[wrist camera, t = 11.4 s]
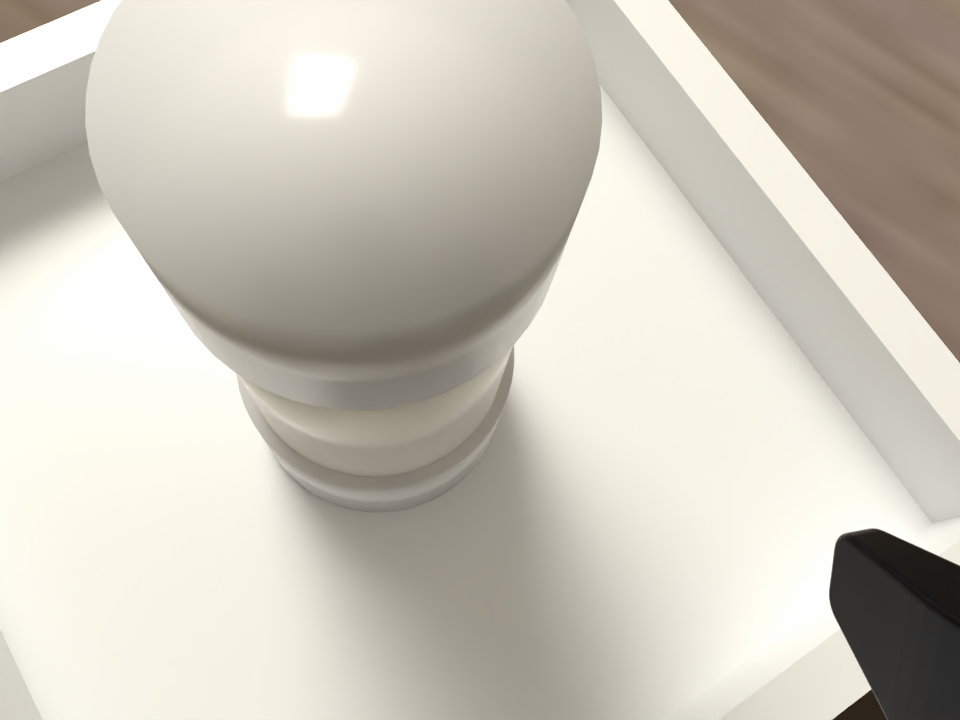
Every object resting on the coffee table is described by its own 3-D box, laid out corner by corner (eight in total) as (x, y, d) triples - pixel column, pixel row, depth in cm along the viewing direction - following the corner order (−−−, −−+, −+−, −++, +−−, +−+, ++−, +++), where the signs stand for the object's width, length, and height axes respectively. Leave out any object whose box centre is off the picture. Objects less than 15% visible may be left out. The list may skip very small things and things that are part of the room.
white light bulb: (520, 308, 19) (636, -49, 9) (474, 536, 17) (553, 388, 8) (295, 258, 19) (179, -152, 9) (228, 482, 17) (4, 267, 8)
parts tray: (983, 543, 18) (1087, 522, 16) (179, 1144, 14) (123, 1265, 12) (510, -73, 23) (525, -178, 20) (-221, 257, 18) (-336, 184, 16)
